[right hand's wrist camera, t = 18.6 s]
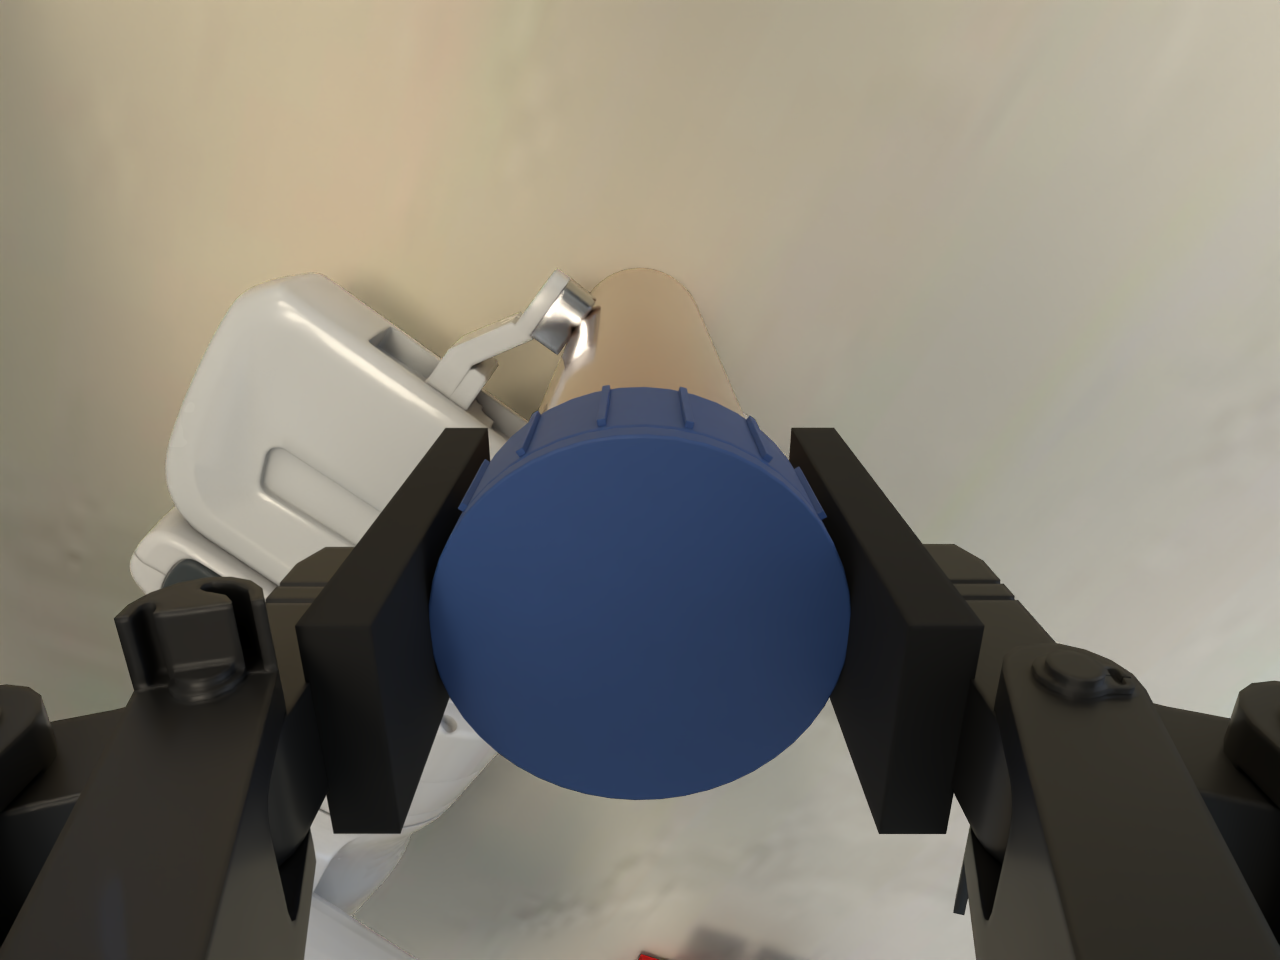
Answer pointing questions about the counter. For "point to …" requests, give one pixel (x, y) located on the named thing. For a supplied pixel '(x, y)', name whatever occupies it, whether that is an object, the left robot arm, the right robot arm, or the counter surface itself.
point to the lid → (639, 597)
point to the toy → (646, 957)
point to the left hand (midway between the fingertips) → (657, 347)
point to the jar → (640, 343)
